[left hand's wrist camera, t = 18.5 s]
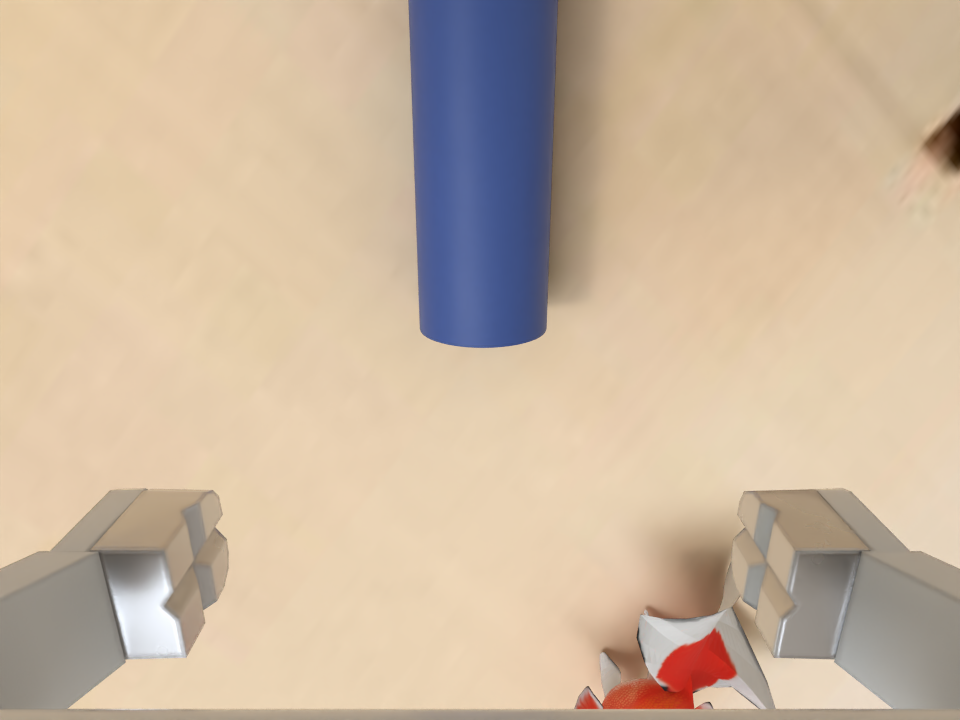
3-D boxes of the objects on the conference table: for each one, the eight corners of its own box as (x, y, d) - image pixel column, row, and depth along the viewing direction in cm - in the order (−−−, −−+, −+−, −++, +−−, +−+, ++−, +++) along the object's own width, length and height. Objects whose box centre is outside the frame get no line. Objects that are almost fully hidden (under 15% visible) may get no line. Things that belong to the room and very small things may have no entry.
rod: (540, 310, 34) (552, 348, 28) (425, 310, 34) (414, 348, 28) (558, -257, 26) (579, -362, 20) (407, -256, 26) (386, -361, 20)
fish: (484, 695, 37) (604, 850, 29) (651, 481, 40) (803, 567, 32) (573, 749, 43) (693, 889, 35) (712, 560, 46) (854, 649, 38)
